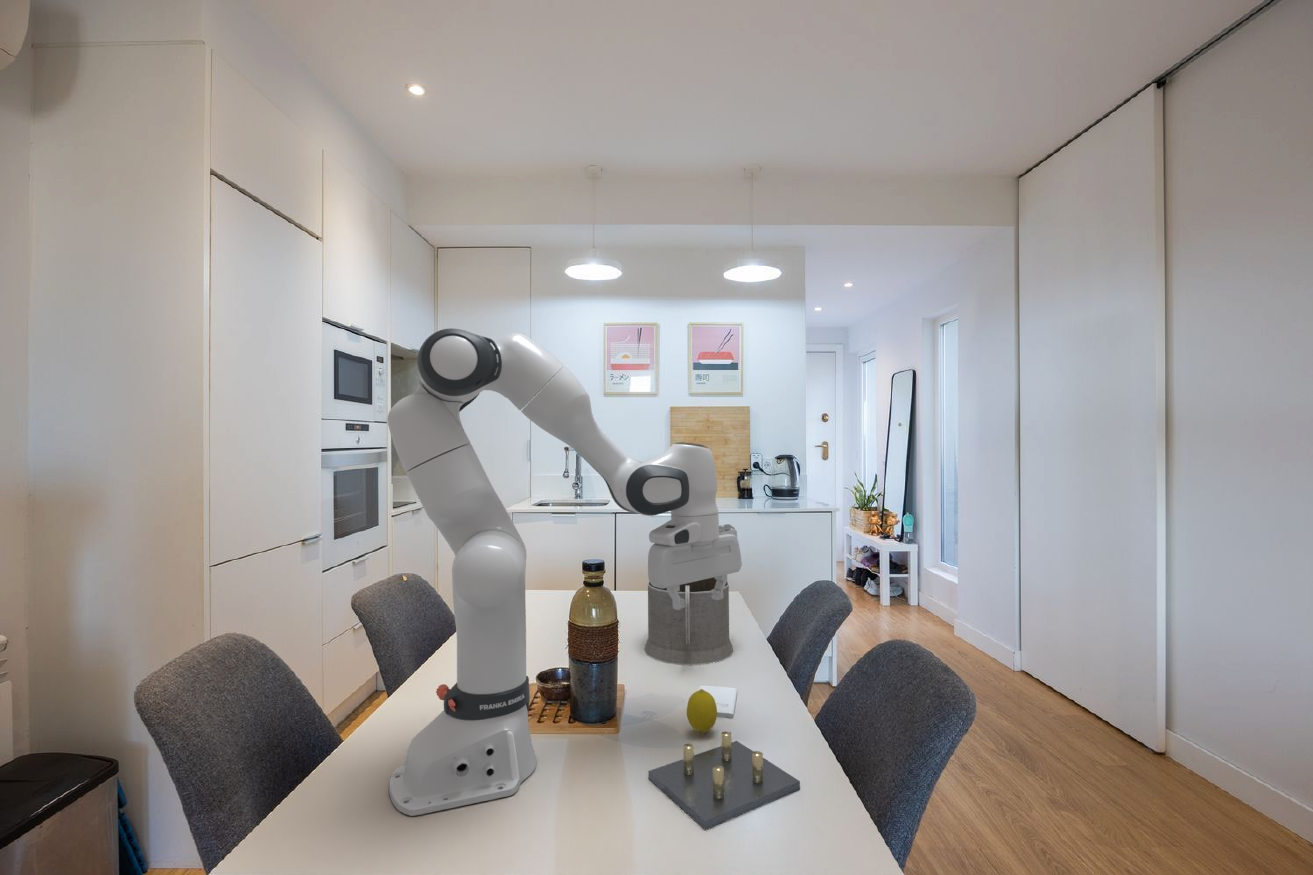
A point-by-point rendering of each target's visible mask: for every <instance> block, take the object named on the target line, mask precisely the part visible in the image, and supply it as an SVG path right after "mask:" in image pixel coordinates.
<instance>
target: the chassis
mask: <svg viewBox="0 0 1313 875" xmlns="http://www.w3.org/2000/svg"><path fill="white" fill-rule="evenodd" d="M763 754H764V753H763V752H762V751H759V750H755V751H754V750H752V749H751V748H749V747H748V746H746V745H744V744H742V743H741V742H740V741H738V740H735V741H732V733H731V732H730V731H722V732H721V746H717V747H714V748H711V749H708V750H706V751H702V752H699V753H697V754H695V755H694V745H693V744H691V743H685V744H683V758H682V759H680V760H677V761H673V762H671V763H667V764H665V765H662V766H660V767H659V766H658V767H656V768H653V769H650V770H648V774H647V775H648V780H649V781H650V782H652V784H654V785H655V787H657V788H658V789H659V790H660V791H662V792H663V793H664V794H665V795H666V796H667V797H668V798H669V799H670V800H671V801H673V802H674V803H675V804H676V805H677V806H678V807H679V808H680V809H681V810H682V811H684V812H685V813H686V814H687V815H688V816H689V817H690V818H691V819H692V820H694V822H696V824H698V825H699V826H701V828H702V829H703V830H705V831H706V830H708V829H711V828H713V827H716V826H718V825H721V824H722V823H725V822H727V821H729V820H732V819H734V818H737V817H739V816H741V815H743V814H745V813H747V812H750V811H753V810H754V809H757V808H760V807H762V806H764V805H767V804H769V803H771V802H774V801H775V800H779V799H780V798H783V797H785V796H788V795H790V794H792V793H794V792H796V791H798V790H801V781H800V780H799V779H797V778H795V777H794V776H792V775H791V774H789V773H788V772H787V771H785V770H783V769H781V768H780V767H779V766H777V765H775V764H774V763H773V762H771V761H769V759H766V758H764V755H763Z"/></svg>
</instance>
